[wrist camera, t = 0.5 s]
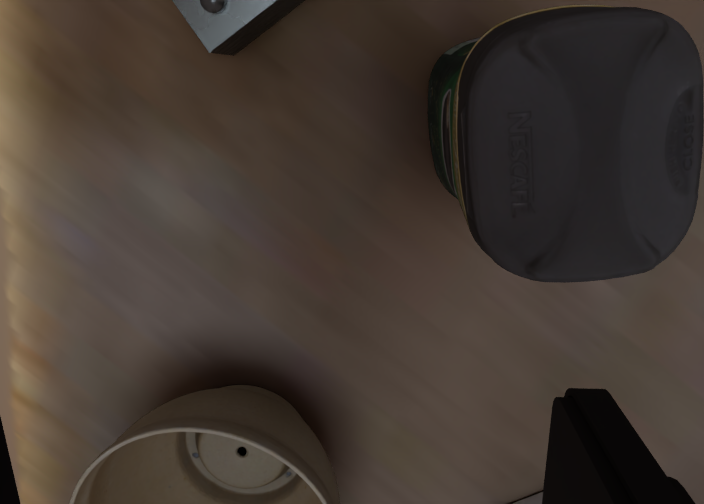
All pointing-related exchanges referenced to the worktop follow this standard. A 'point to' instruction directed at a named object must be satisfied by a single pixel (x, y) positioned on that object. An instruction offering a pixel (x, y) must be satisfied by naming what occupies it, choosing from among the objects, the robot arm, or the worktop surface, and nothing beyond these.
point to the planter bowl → (213, 455)
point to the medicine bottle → (531, 499)
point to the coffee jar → (572, 139)
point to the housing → (232, 20)
